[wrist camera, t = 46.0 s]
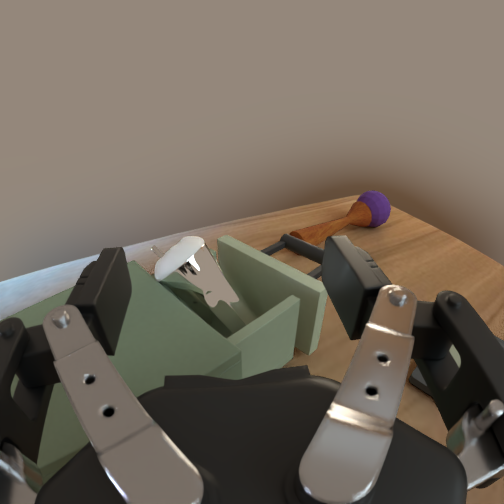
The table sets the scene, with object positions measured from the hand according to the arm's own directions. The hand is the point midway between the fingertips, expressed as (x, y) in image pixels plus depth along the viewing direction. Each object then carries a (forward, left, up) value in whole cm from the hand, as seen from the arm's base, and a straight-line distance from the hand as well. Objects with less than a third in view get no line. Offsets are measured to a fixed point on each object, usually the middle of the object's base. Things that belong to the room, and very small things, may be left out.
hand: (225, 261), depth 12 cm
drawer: (-6, +7, -14) cm, 17 cm away
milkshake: (-5, +6, -12) cm, 14 cm away
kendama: (-12, +33, -15) cm, 37 cm away
